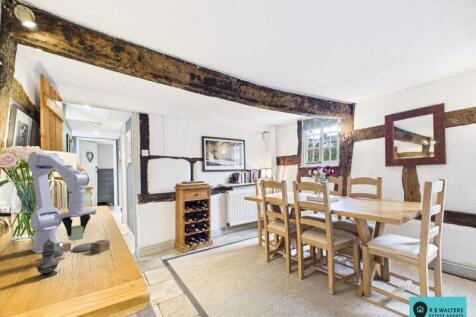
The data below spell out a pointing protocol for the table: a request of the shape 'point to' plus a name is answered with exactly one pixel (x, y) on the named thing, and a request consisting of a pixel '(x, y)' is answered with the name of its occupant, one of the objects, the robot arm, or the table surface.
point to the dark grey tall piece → (47, 261)
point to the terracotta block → (66, 246)
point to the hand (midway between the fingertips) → (75, 234)
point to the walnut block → (100, 246)
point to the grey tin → (58, 249)
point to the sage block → (76, 233)
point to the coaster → (82, 247)
